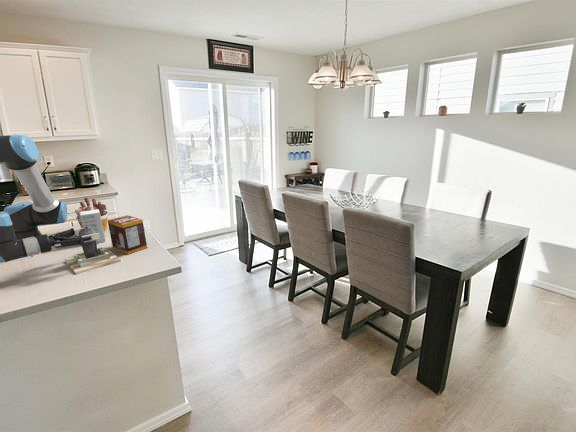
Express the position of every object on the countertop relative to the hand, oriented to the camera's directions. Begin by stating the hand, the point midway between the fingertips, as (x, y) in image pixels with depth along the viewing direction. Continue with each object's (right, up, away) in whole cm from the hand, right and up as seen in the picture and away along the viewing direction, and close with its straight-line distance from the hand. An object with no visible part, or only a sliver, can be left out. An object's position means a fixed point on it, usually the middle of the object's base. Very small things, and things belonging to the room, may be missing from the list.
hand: (95, 232), depth 144 cm
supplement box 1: (-17, -7, +28) cm, 33 cm away
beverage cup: (-2, -13, +1) cm, 13 cm away
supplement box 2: (+8, -9, +17) cm, 21 cm away
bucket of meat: (-28, -2, +45) cm, 53 cm away
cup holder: (-2, -14, +2) cm, 14 cm away
